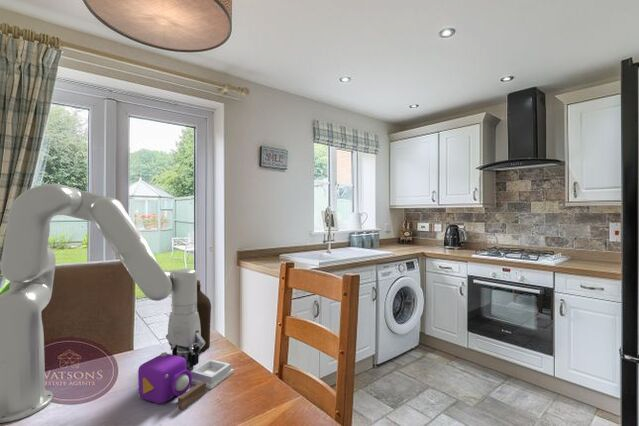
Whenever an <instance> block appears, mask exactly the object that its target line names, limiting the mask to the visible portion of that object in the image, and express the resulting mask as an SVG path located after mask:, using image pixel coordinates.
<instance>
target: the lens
mask: <svg viewBox="0 0 639 426" xmlns="http://www.w3.org/2000/svg"><path fill="white" fill-rule="evenodd" d="M190 354H191V352H190V349H189V347H183V346H178V345H177V356H180V357H183V358H185V360H186V370H189V371H192V370H193V369H195V368H194V367H195V366H193V367H190V363H189V355H190Z"/></svg>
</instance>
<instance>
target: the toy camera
mask: <svg viewBox="0 0 639 426" xmlns="http://www.w3.org/2000/svg"><path fill="white" fill-rule="evenodd" d="M137 372H138V375H137V376H138V377H137V378H138V379H137V380H138V382H137V383H138V396H139V397H140V398H141V399H143V400H146V401H149V402H152V403H155V404H159V405H161V404H164V403H166V402H168V401H169V400H171V399H173V398H174V397H175V396H176V397H179V396H181V395H182V394H184V393H185V392H187V391H188V390H189V389H190V386H191V381H192V374H191V372H190V371H189V370H186V360H185V358H183V357H180V356H175V355H172V353H168V352H161V353H160V354H159V355H158V356H156V357H153V358H152V359H149V360H148V361H146V362H144V363H142V364H140V365H139V367H138V371H137Z"/></svg>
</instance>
